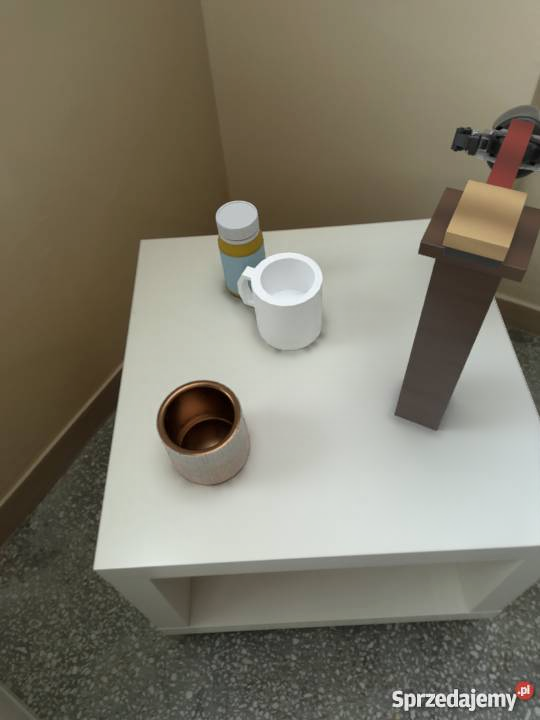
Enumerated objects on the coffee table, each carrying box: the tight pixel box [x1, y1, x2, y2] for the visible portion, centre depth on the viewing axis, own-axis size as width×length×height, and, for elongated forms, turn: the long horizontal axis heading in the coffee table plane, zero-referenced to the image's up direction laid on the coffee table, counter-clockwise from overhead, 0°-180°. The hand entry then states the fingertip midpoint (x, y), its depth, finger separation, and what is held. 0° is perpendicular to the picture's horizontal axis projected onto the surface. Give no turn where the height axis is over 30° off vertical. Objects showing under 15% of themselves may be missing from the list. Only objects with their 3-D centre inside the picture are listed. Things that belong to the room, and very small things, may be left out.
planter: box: [155, 379, 251, 486], centre depth 69 cm, size 11×11×10 cm
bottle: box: [215, 200, 267, 298], centre depth 83 cm, size 7×7×15 cm
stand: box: [394, 186, 540, 431], centre depth 61 cm, size 8×9×33 cm
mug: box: [237, 252, 324, 351], centre depth 80 cm, size 14×10×11 cm
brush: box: [443, 119, 536, 269], centre depth 48 cm, size 19×5×3 cm, turn 154°
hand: (513, 153), depth 57 cm, fingers open, 8 cm apart
